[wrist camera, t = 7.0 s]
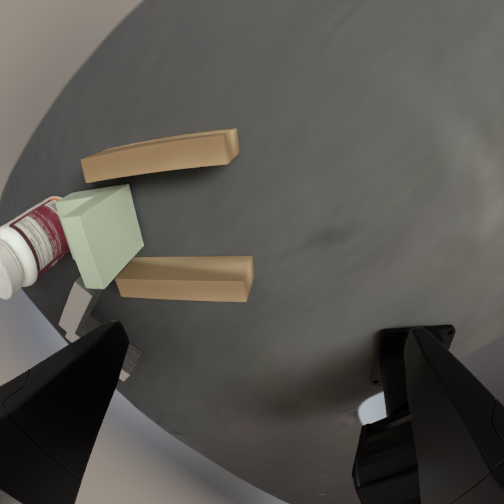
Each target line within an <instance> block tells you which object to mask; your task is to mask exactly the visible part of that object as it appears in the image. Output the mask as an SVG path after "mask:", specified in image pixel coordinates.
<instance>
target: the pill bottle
mask: <svg viewBox="0 0 504 504" xmlns="http://www.w3.org/2000/svg"><path fill="white" fill-rule="evenodd" d="M60 199H62V197H58V196H52V197H49V198H47V199H45V200H44V201H42V202H40V203H38V204H37V205H35V206H33V207H32V208H30V209H28V210H27V211H25V212H24V213H22V214H20V215H19V216H17V217H15V218H14V219H12V220H11V221H9V222H8V223H6V224H5V225H3V226H1V227H0V298H2V299H5V300H7V299H10V298H11V297H12V296H13V295H14V294H15V293H17V292H18V291H19V290H20V288H21V287H27V286H30V285H32V284H34V283H35V282H36V281H37V280H38V279H39V278H40V277H41V276H42V275H43V274H44V273H45V272H46V271H48V270H49V269H50V268H51V267H52V266H53V265H54V264H55V263H56V262H58V261H59V260H60V259H61V258H62V257H63V256H65V255H66V254H67V253H68V252H69V251H70V249H69V246H68V243H67V240H66V237H65V234H64V231H63V228H62V225H61V221H60V218H59V215H58V212H57V208H56V205H55V202H57V201H58V200H60Z"/></svg>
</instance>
